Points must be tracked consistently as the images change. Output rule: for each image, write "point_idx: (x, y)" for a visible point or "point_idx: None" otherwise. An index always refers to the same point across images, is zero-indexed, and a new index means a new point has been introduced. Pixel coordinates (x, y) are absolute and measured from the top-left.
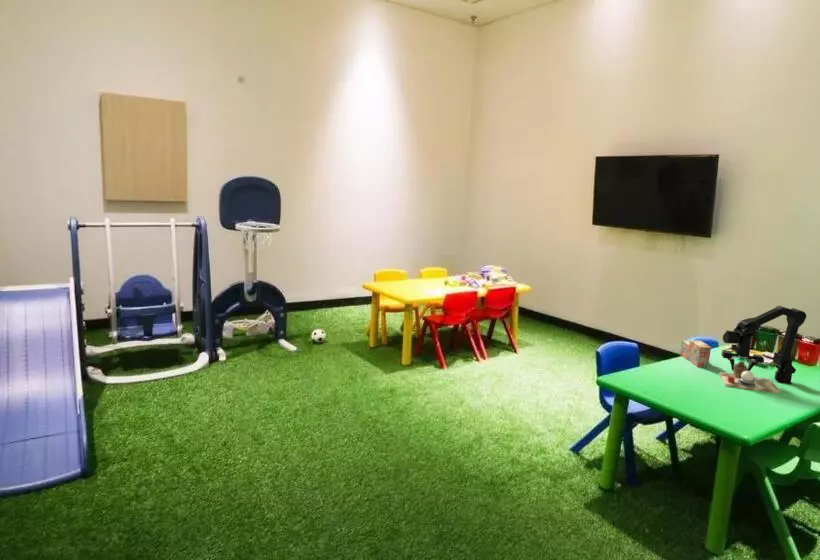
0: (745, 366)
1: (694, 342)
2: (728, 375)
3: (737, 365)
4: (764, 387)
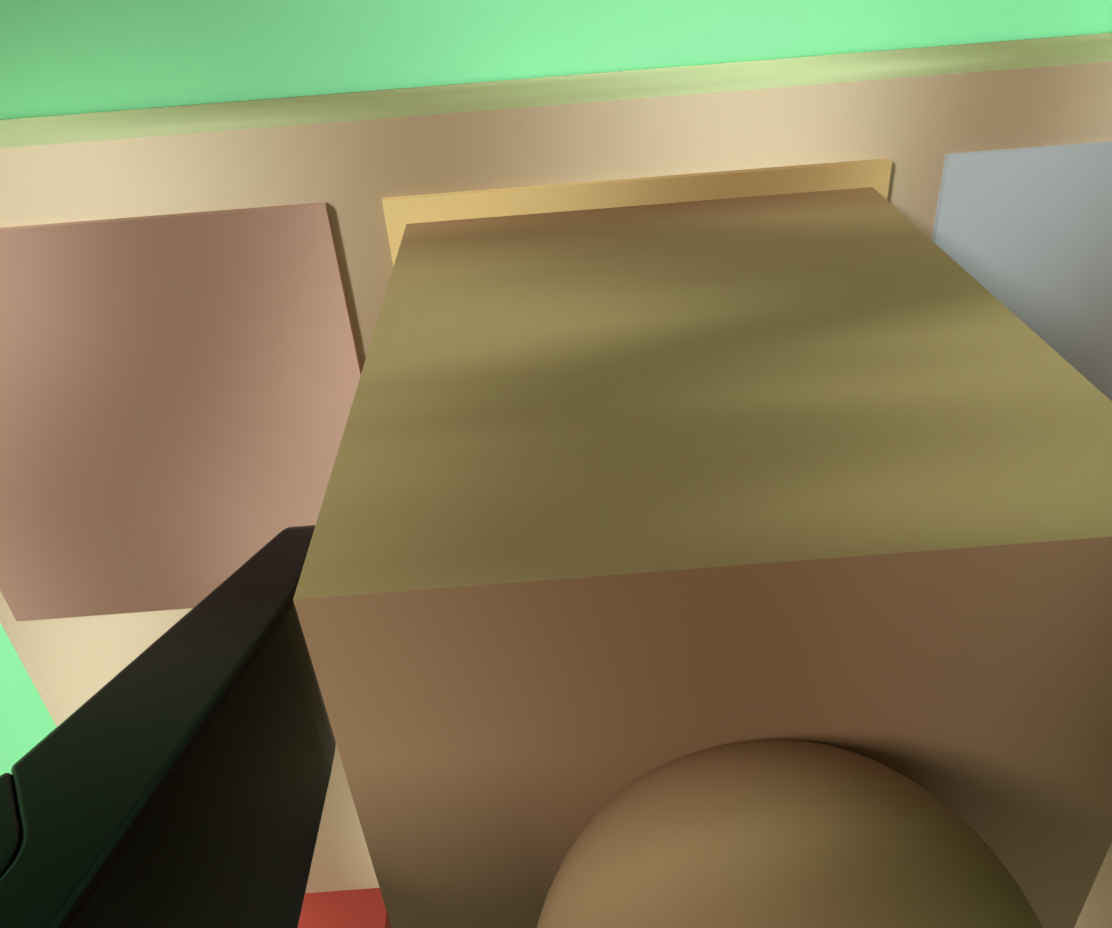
0: (1053, 833)
1: None
2: (229, 494)
3: (499, 878)
4: (1100, 913)
